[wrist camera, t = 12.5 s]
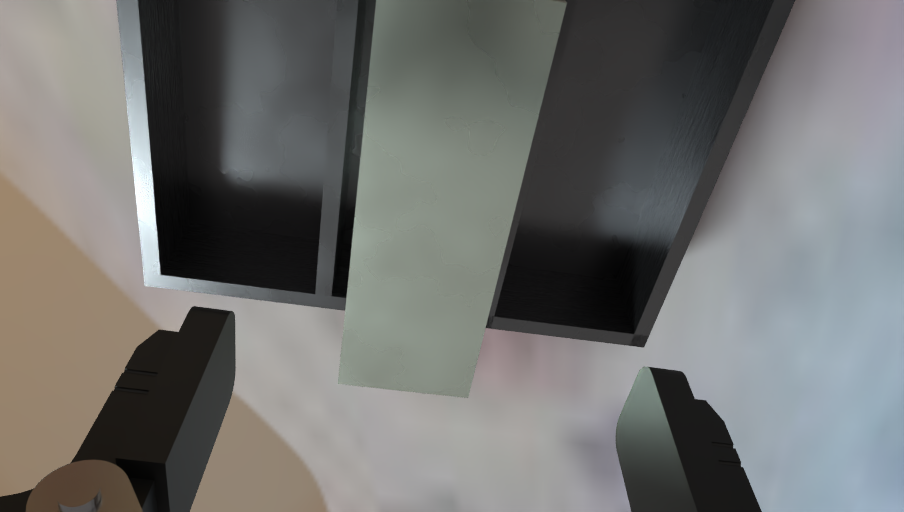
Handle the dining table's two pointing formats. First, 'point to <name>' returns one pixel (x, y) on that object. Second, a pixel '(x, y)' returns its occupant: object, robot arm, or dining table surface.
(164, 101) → the rack
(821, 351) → the dining table surface
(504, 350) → the dining table surface
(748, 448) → the dining table surface
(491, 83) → the grey-green rectangular block
